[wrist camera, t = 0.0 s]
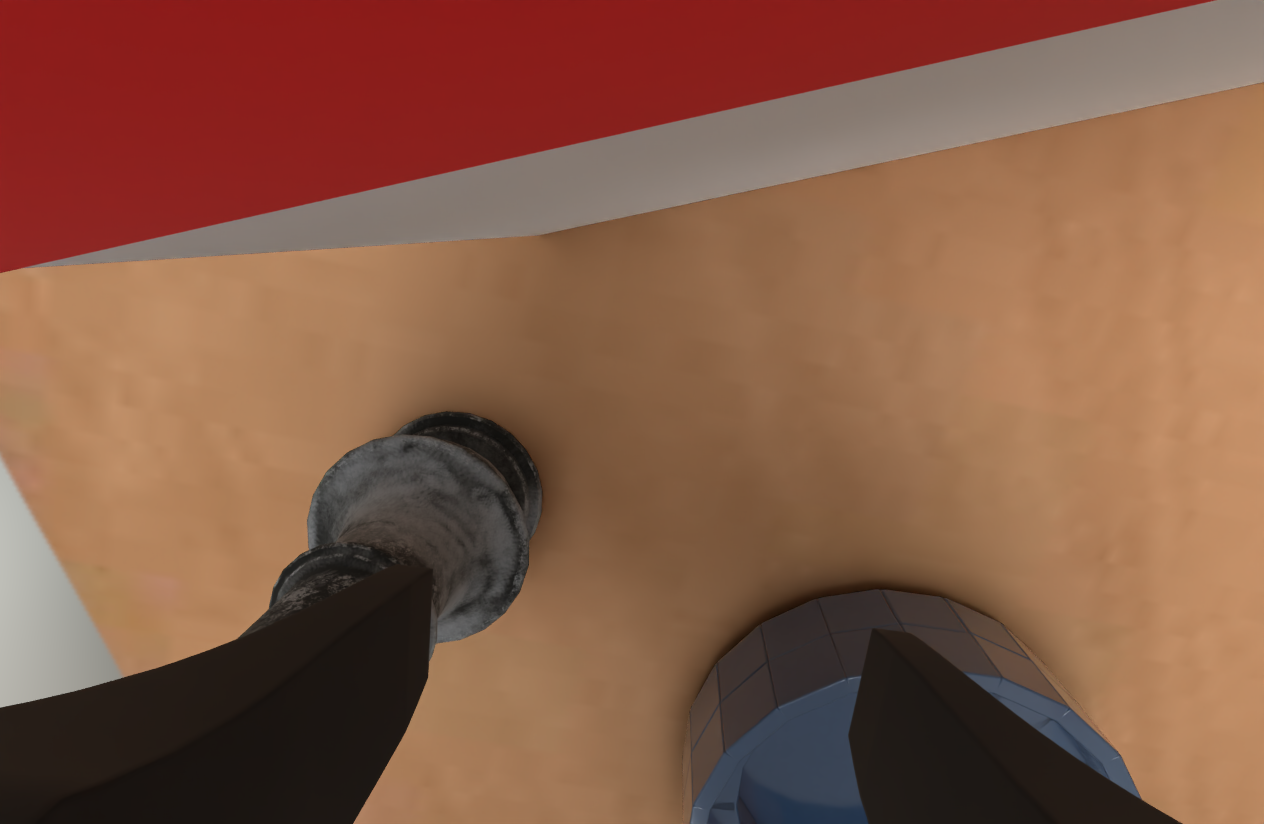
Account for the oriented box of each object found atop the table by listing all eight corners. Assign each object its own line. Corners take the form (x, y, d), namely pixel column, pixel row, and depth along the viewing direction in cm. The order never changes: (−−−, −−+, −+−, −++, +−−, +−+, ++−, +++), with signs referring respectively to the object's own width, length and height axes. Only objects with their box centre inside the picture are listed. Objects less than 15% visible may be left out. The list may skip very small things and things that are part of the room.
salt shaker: (584, 455, 21) (474, 724, 10) (506, 610, 23) (332, 1003, 11) (405, 368, 21) (73, 541, 10) (337, 531, 23) (-20, 853, 11)
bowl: (1007, 918, 25) (1077, 1065, 20) (663, 867, 25) (659, 1001, 21) (1104, 609, 22) (1212, 706, 17) (711, 557, 22) (719, 639, 18)
